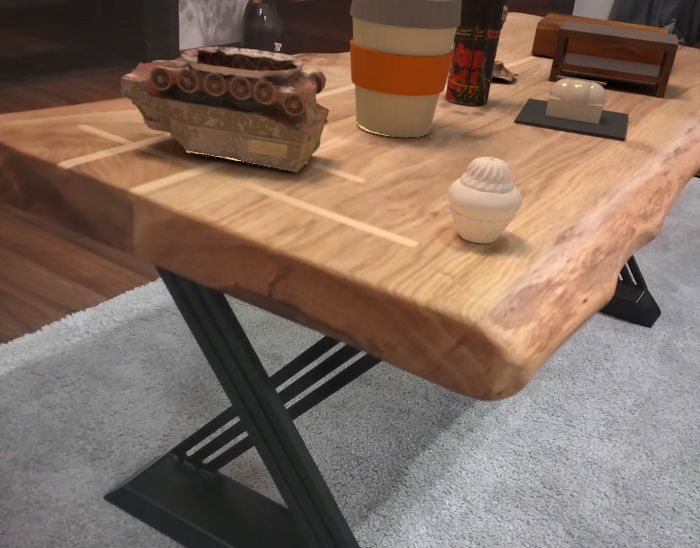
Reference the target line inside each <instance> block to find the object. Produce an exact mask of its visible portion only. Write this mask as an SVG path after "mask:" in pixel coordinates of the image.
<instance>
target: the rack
mask: <svg viewBox="0 0 700 548" xmlns="http://www.w3.org/2000/svg"><path fill="white" fill-rule="evenodd" d="M569 38H573V39H580V40H588V41H595V42H602V43H609V44H617V45H624V46H631V47H638V48H646V49H653V50H660V51H665V52H664V55H663V59H662V63H661V66H659V65H652V64H645V63H638V62H631V61H623V60H616V59H609V58H602V57H595V56H588V55H581V54H574V53H567V48H568V43H569ZM679 44H680V43H679V38H678V34H672V33H668V34H666V33H658V32H651V31H643V30H636V29H628V28H620V27H613V26H605V25H598V24H590V23H583V22H575V21H568V20H566V21H565V22H564V24H563V25H562V26H561V27H560V29H559V33H558V38H557V43H556V48H555V53H554V57H552V62H551V67H550V72H549V77H548V81H549V82H554V83H556V82H557V81H558V78H557V76H559V72H563V71H568V72H576V73H583V74H588V75H590V74H591V75H595V76H596V75H597V76H603V77H611V78H616V79H623V80H629V81H638V82H643V83H650V84H655V86H656V85H658V86H657V90H656V93H655V98H659V97H662V98H661V99H664V98H665V94H666V91H667V89H668V88H667V87H668V84H669V80H670V78H671V74H672V70H673V66H674V63H675V59H676V55H677V52H678V48H679V46H680V45H679Z"/></svg>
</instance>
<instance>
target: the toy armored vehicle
mask: <svg viewBox="0 0 700 548" xmlns="http://www.w3.org/2000/svg"><path fill="white" fill-rule="evenodd" d="M304 65H305V63H304V62H303V61H301V59H299V58H298V57H296V56H293V55H290V54H286V53H282V52H281V53H280V52H271V51H268V50H261V49H252V48H251V49H250V48H238V47H233V46H232V47H231V46H230V47H229V46H228V47H227V46H217V45H215V46H204V47H196V48H189V49H186V50H183V51H182V53H180V57H177V58H175V59H173V60H172V59H170V60H167V59H155V60H152V61H151V62H146V63H143V62H139V63H138V64H137V66H136V67H135V68H134V69H133V70H132V71H131V72H130V73H127V74H126V73H125V74H124V75H122V76H121V77H120V94H121V96H123V97H124V98H127V99H128V100H130V101H131V103H132V105H134V106H135V107H136V108H137V111H139V113H140V114H141V116H142V121H144V123H143V124H144V125H146V127H147V128H148V129H150V130H152V131H157V132H164V133H169V134H170V136H171V138H173V139H175V140H176V141H177V142H178V143H179V144H181V146H182V147H183V149H185V150H188V151H193V152H198V153H204V154H207V155H208V154H209V155H214V156H222V157H229V158H234V159H237V160H241V161H244V162H250V163H255V164H261V165H266V166H270V167H275V168H281V169H280V170H283V171H287V170H288V172H293V173H298V172H299V171H300V170H302V168H303V167H304V164H305V163H306V162H307V161H308V162H309V160H310V158H311V157H312V156H313V155H314V154H315V152H317V151H318V149H319V148H320V146H321V139H322V134H323V133H324V128H325V126H326V125H327V124H328V121H329V120H328V116H329V113H330V109H328V108H327V107H325V106H323V105H321V104H319V103H318V102H317V95H320V93H321V92H322V91H323V90H324V89H325V87H326V82H327V78H326V75H325V73H324V72H323V71H322V70H321V69H318V68H308V69H307V68H306V69H303V67H304ZM185 150H184V151H185ZM308 162H307V163H308ZM270 167H269V168H270ZM275 168H274V169H275Z"/></svg>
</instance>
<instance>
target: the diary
mask: <svg viewBox="0 0 700 548" xmlns="http://www.w3.org/2000/svg"><path fill="white" fill-rule="evenodd" d="M566 20H568V21H575V22H583V23H590V24H598V25H605V26H613V27H620V28H628V29H636V30H643V31H651V32H658V33H666V34H669V28H664V27H658V26H650V25H643V24H635V23H629V22H623V21H615V20H608V19H601V18H595V17H588V16H580V15H573V14H566V13H561V12H552V11H550V12H549V13H547V14H546V15H545V16H544V17H542V18H541V19H540V20H539V21H538V22H537V24H536V28H535V33H534V38H533V44H532V48H531V55H535V56H542V57H543V56H544V57H548V58H553V57H554V53H555V48H556V43H557V38H558V33H559V29H560V27H561V26H562V25H563V24H564V22H565V21H566ZM664 52H665V51H660V50H653V49H646V48H638V47H631V46H624V45H617V44H609V43H602V42H595V41H588V40H580V39H573V38H569V43H568V48H567V53H574V54H581V55H588V56H595V57H602V58H609V59H616V60H623V61H631V62H638V63H645V64H652V65H659V66H661V63H662V59H663V55H664Z"/></svg>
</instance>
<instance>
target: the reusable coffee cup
mask: <svg viewBox="0 0 700 548" xmlns="http://www.w3.org/2000/svg"><path fill="white" fill-rule="evenodd" d="M461 2H462V0H351V4H350V11H349V15H350V16H351V17H352V35H353V37H352V38H351V39H350V41H349V53H350V57H349V58H350V79H351V83H352V84H353V85H354V93H355V95H354V96H355V122H356V121H357V122H358V124H359V125H361V126H363V127H365V128H366V129H368V130H370V131H373V132H377V133H380V134H385V135H389V136H393V137H392V138H394V137H407V138H406V139H409V138H408V137H416V138H420V136H421V137H425V136H427V135H429V133H430V132H431V127H432V123H433V120H434V117H435V112H436V108H437V105H438V102H439V97H440V95H441V93H443V92H444V91H445V90H446V89H445V88H446V86H447V82H448V76H449V70H450V66H451V62H452V59H453V55H454V51H453V50H452V48H453V41H454V37H455V33H456V29H457V27H459V26H460V23H461ZM426 134H427V135H426ZM424 135H425V136H424Z"/></svg>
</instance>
